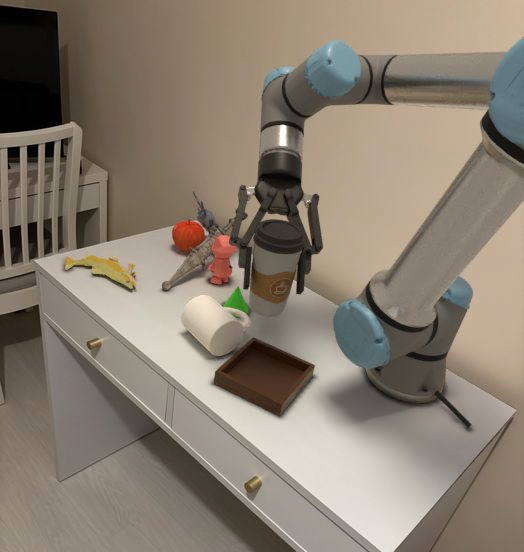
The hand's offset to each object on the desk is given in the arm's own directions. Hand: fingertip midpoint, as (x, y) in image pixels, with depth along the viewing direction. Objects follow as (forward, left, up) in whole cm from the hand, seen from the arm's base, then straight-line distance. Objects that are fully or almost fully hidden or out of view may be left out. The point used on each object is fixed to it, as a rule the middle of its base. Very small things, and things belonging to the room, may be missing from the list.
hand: (273, 289), depth 90 cm
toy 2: (+29, -34, -16) cm, 48 cm away
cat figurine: (+24, -24, -19) cm, 39 cm away
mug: (+12, -5, -19) cm, 23 cm away
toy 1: (+44, -14, -17) cm, 49 cm away
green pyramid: (+15, -17, -19) cm, 29 cm away
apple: (+38, -32, -19) cm, 53 cm away
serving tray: (-1, 0, -19) cm, 19 cm away
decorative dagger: (+31, -12, -18) cm, 38 cm away
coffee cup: (+2, -3, -6) cm, 7 cm away
